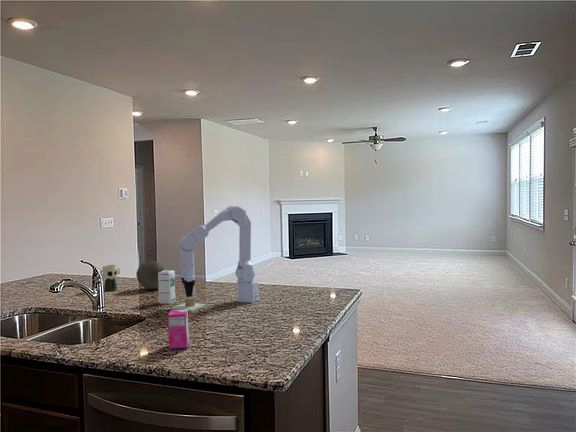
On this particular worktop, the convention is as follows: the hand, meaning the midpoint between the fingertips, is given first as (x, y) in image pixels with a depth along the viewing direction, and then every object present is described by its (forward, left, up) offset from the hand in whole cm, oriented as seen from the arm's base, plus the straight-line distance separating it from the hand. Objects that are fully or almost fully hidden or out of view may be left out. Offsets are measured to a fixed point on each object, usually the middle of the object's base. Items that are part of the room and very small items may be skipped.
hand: (188, 295), depth 196 cm
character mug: (+61, -18, -6) cm, 64 cm away
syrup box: (+15, -5, -6) cm, 17 cm away
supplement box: (-27, +45, -6) cm, 53 cm away
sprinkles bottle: (0, 0, -5) cm, 5 cm away
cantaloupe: (+41, -26, -6) cm, 49 cm away
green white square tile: (0, 0, -5) cm, 5 cm away
